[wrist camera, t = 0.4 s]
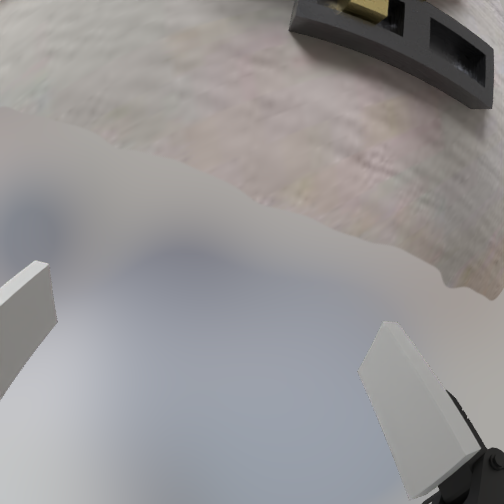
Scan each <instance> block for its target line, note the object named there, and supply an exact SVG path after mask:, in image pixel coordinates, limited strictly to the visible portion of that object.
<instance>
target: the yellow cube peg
mask: <svg viewBox="0 0 504 504" xmlns="http://www.w3.org/2000/svg"><path fill="white" fill-rule="evenodd" d="M388 2H389V0H338V3H337V9H336V10H338V11H341V12H344V13H347V14H349V15H352V16H355V17H358V18H360V19H363V20H365V21H368V22H370V23H373V24H375V25H376V24H378V23H379V22H381V21H382V20H383V19H385V18H386V17H387V15H388Z"/></svg>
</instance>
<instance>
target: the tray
mask: <svg viewBox="0 0 504 504" xmlns="http://www.w3.org/2000/svg"><path fill="white" fill-rule="evenodd" d="M337 3H338V0H295V3H294V8H293V12H292V17H291V21H290V26H289V31H292V32H296V33H300V34H304V35H308V36H312V37H315V38H319V39H322V40H326V41H329V42H332V43H335V44H338V45H341V46H344V47H347V48H350V49H353V50H355V51H358V52H361V53H364V54H366V55H369V56H371V57H374V58H376V59H379V60H381V61H383V62H386V63H388V64H390V65H392V66H395V67H397V68H399V69H401V70H403V71H405V72H407V73H409V74H412V75H414V76H416V77H417V78H419V79H421V80H423V81H425V82H427V83H429V84H431V85H433V86H434V87H436V88H438V89H440V90H441V91H443V92H445V93H447V94H448V95H450V96H452V97H453V98H455V99H457V100H458V101H460V102H461V103H463V104H464V105H466V106H467V107H469V108H471V109H492V104H493V86H494V52H493V48H492V47H490V46H489V45H488V44H487V43H485V42H484V41H483V40H482V39H480V38H479V37H478V36H477V35H475V34H474V33H473V32H471V31H470V30H469V29H467V28H466V27H465V26H463V25H462V24H460V23H459V22H457V21H456V20H454V19H453V18H452V17H450V16H448V15H447V14H445V13H444V12H442V11H441V10H439V9H437V8H436V7H434V6H432V5H431V4H429V3H427V2H426V1H424V0H389V2H388V15H387V17H386V18H385V19H383V20H382V21H381V22H379V23H378V24H376V25H375V24H373V23H370V22H368V21H365V20H363V19H360V18H358V17H355V16H352V15H349V14H347V13H344V12H341V11H338V10H336V9H337Z"/></svg>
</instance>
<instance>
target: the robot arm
mask: <svg viewBox="0 0 504 504" xmlns="http://www.w3.org/2000/svg"><path fill="white" fill-rule="evenodd" d="M57 322H58V321H57V316H56V310H55V304H54V298H53V291H52V284H51V275H50V267H49V264H47V263H43V262H39V261H36V260H35V261H34V262H32V263H31V264H30V265H28V266H27V267H26V268H25V269H23V270H22V271H21V272H19V273H18V274H17V275H15V277H13V278H12V279H11V280H9V281H8V282H7V283H5V284H4V285H3V286H2V287H1V288H0V400H1V398H2V397H3V396H4V394H5V392H6V391H7V389H8V388H9V387H10V385H11V383H12V382H13V381H14V379H15V378H16V376H17V375H18V374H19V372H20V371H21V369H22V367H24V365H25V364H26V362H27V361H28V360H29V358H30V357H31V356H32V354H33V353H34V352H35V350H36V349H37V348H38V346H39V345H40V344H41V342H42V341H43V340H44V339H45V337H46V336H47V335H48V334H49V332H50V331H51V330H52V328H53V327H54V326H55V325H56V324H57ZM358 374H359V376H360V379H361V381H362V383H363V386H364V388H365V390H366V392H367V395H368V397H369V399H370V402H371V404H372V406H373V409H374V411H375V414H376V416H377V418H378V421H379V423H380V426H381V428H382V431H383V433H384V435H385V438H386V440H387V443H388V445H389V448H390V450H391V453H392V456H393V458H394V461H395V463H396V466H397V468H398V471H399V473H400V477H401V479H402V482H403V485H404V487H405V490H406V493H407V496H408V498H409V500H412V499H415V498H418V497H421V496H423V495H426V494H428V493H429V492H430V491H431V490H433V489H434V488H436V487H437V486H438V488H439V491H438V492H437V493H435V494H434V495H432V496H431V497H430V498H428V499H427V500H425V501H424V502H423V503H422V504H429V503H430V502H432V504H504V453H503V452H502V451H501V450H499V449H497V448H490V449H487V448H486V447H485V445H484V443H483V442H482V440H481V438H480V437H479V435H478V433H477V431H476V430H475V428H474V427H473V425H472V423H471V422H470V420H469V419H467V415H466V414H465V412H464V411H462V407H461V406H460V404H459V403H458V401H457V400H456V398H455V397H454V396H453V395H452V394H450V393H449V392H448V391H447V390H445V389H444V387H443V386H442V384H441V382H440V381H439V379H438V378H437V377H436V375H435V374H434V372H433V371H432V369H431V368H430V366H429V365H428V363H427V362H426V360H425V359H424V358H423V356H422V355H421V353H420V352H419V351H418V349H417V348H416V347H415V345H414V344H413V342H412V341H411V339H410V338H409V337H408V335H407V334H406V333H405V331H404V330H403V329H402V327H401V326H400V325H399V323H398V322H389V321H383V322H382V324H381V327H380V329H379V331H378V333H377V335H376V337H375V339H374V341H373V343H372V345H371V347H370V349H369V351H368V353H367V355H366V357H365V358H364V360H363V362H362V364H361V366H360V368H359V370H358Z"/></svg>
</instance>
